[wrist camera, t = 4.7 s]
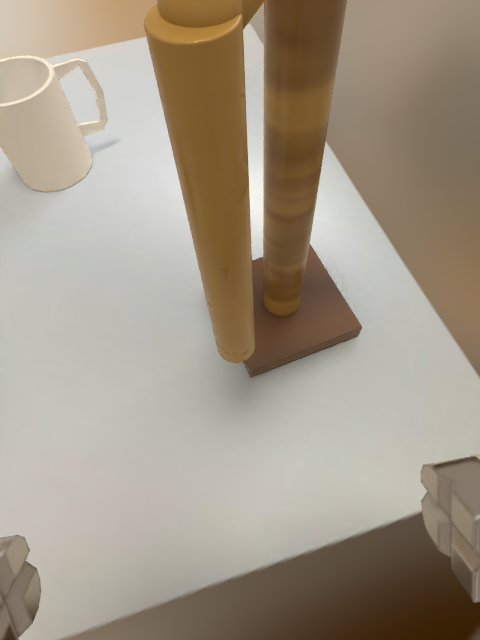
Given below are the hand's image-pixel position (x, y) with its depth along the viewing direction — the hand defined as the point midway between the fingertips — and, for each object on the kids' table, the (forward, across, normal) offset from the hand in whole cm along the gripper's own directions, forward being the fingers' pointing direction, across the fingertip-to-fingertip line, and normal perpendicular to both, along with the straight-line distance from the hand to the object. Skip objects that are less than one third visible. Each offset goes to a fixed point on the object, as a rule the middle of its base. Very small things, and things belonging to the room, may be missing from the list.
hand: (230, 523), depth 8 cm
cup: (+45, +14, -14) cm, 49 cm away
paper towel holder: (+28, -6, +4) cm, 29 cm away
